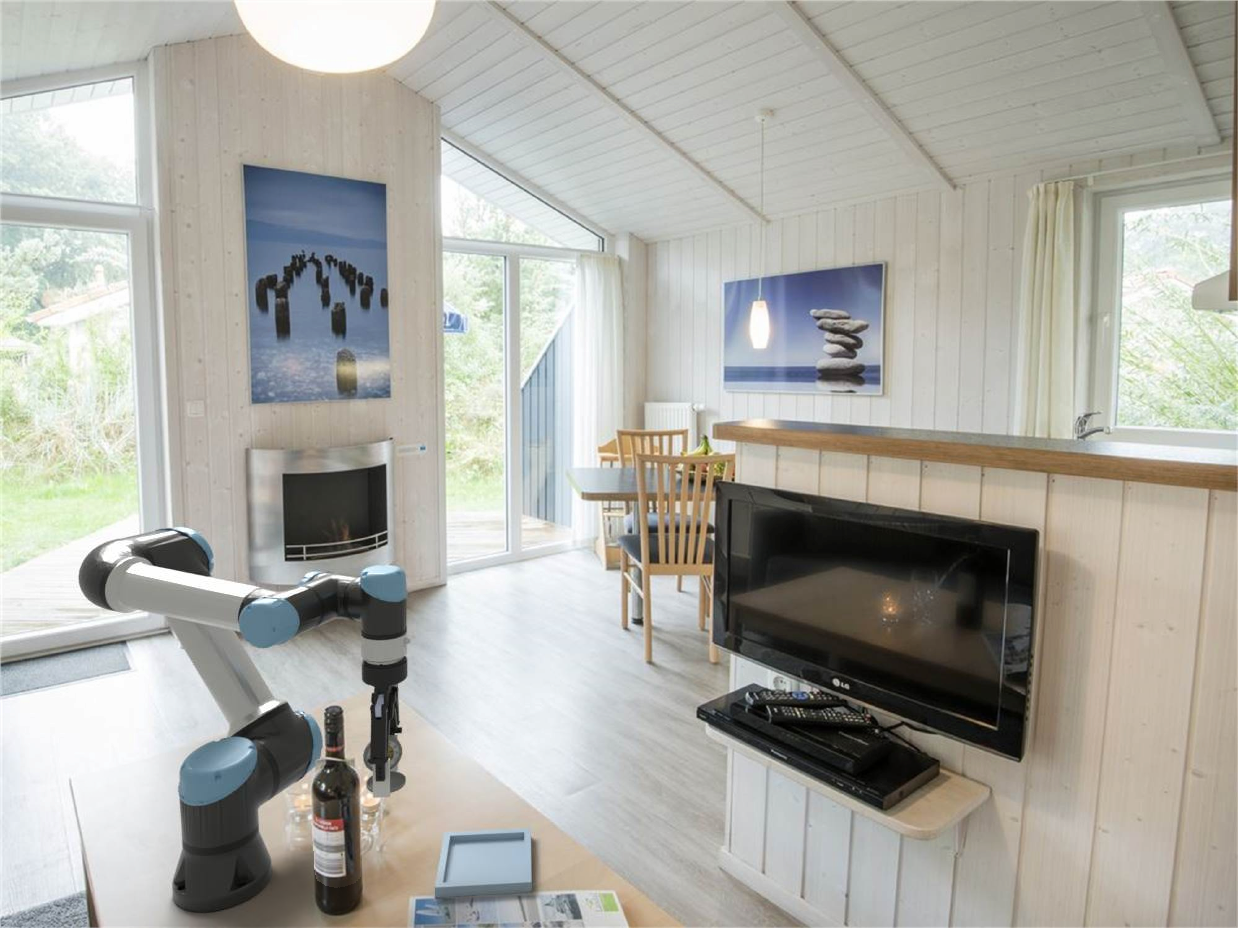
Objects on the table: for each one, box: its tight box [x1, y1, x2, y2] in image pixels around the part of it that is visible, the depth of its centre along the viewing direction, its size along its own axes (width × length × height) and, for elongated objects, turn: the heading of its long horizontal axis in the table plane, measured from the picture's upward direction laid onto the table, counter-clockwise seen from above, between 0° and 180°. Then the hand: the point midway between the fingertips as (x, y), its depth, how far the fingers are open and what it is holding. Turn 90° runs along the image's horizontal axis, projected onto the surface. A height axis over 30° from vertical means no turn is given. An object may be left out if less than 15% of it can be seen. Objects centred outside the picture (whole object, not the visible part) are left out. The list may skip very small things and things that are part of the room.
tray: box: [434, 827, 532, 898], centre depth 143 cm, size 16×16×2 cm
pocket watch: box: [362, 735, 407, 794], centre depth 140 cm, size 8×8×10 cm
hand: (385, 782), depth 140 cm, fingers closed on pocket watch, 8 cm apart
